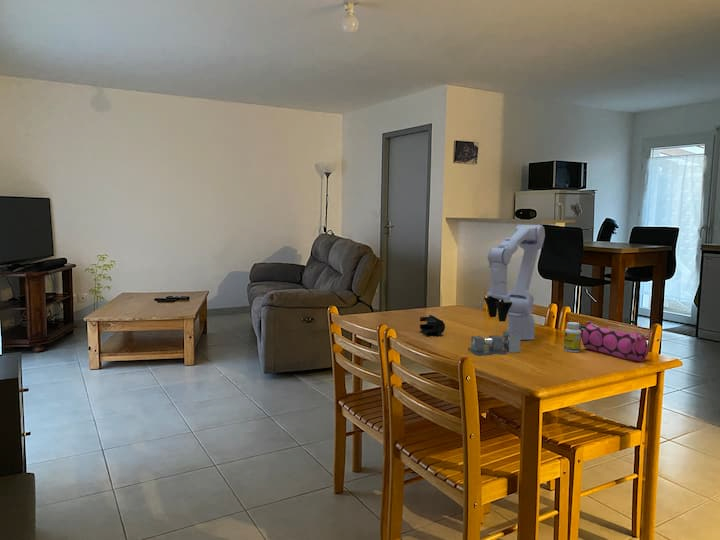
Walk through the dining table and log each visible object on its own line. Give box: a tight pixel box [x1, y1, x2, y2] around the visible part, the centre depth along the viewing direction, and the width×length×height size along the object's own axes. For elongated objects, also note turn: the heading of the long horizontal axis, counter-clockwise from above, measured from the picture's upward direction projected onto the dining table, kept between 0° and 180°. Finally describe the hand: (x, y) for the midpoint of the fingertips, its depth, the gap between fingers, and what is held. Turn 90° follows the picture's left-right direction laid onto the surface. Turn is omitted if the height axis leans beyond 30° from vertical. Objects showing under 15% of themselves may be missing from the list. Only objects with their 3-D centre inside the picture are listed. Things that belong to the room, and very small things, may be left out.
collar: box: [502, 330, 521, 354], centre depth 188 cm, size 4×5×6 cm
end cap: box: [419, 314, 446, 338], centre depth 214 cm, size 10×7×7 cm
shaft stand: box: [467, 334, 508, 356], centre depth 187 cm, size 16×8×5 cm, turn 100°
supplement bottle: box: [563, 321, 582, 353], centre depth 189 cm, size 5×5×10 cm
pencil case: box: [581, 320, 649, 362], centre depth 184 cm, size 21×10×10 cm, turn 32°
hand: (497, 319), depth 195 cm, fingers open, 7 cm apart
